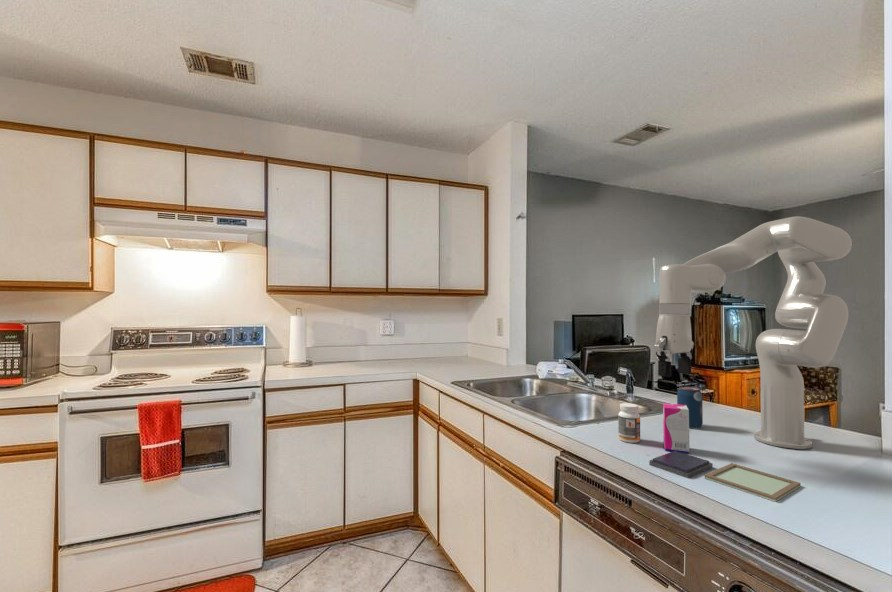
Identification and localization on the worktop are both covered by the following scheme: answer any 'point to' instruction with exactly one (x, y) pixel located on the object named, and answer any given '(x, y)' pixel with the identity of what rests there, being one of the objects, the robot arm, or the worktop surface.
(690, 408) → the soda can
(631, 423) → the pill bottle
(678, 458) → the pad
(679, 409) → the supplement box
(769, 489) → the brown picture frame
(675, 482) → the worktop surface
